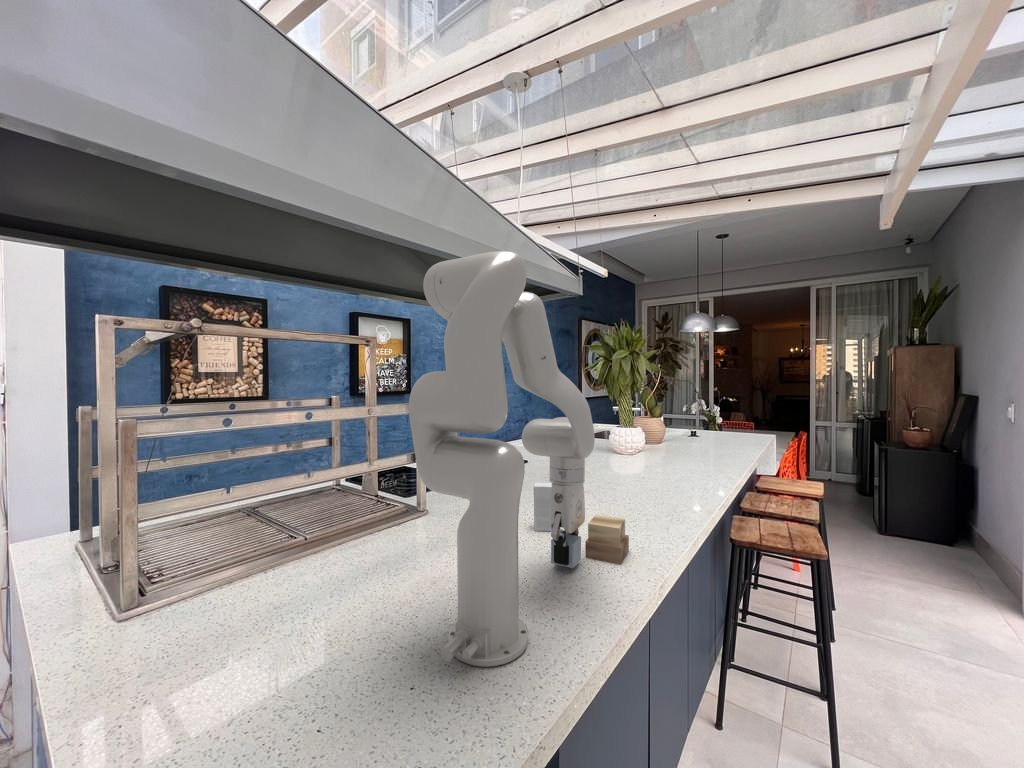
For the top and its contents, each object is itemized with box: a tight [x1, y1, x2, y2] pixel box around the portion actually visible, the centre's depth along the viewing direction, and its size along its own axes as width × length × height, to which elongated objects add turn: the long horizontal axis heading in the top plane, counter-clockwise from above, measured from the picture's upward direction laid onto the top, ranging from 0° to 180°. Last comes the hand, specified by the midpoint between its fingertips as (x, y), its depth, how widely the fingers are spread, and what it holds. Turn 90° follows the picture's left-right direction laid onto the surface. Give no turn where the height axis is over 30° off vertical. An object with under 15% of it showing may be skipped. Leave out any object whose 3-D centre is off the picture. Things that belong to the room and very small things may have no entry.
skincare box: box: [533, 482, 552, 532], centre depth 114 cm, size 6×4×12 cm
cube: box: [550, 533, 582, 569], centre depth 91 cm, size 5×5×5 cm
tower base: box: [584, 534, 630, 566], centre depth 98 cm, size 8×8×4 cm
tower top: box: [587, 514, 626, 546], centre depth 98 cm, size 7×7×4 cm
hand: (566, 557), depth 91 cm, fingers closed on cube, 5 cm apart
